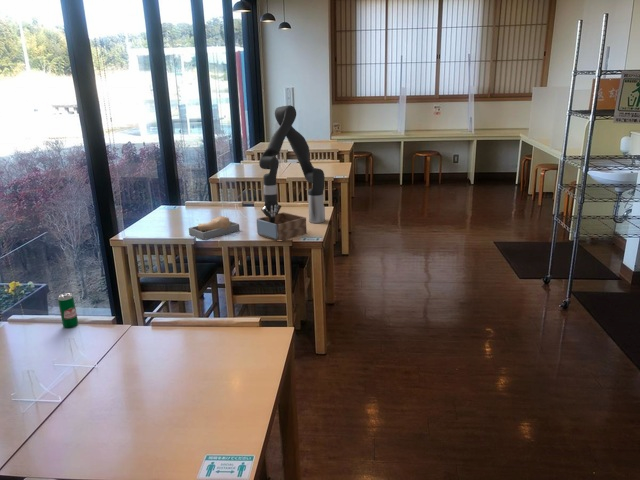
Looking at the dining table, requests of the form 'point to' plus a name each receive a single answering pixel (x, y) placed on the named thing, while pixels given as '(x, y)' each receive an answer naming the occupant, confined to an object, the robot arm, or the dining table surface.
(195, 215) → the dining table surface
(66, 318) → the soda can
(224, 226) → the squash
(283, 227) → the box
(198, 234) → the squash crate
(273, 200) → the robot arm
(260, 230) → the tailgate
